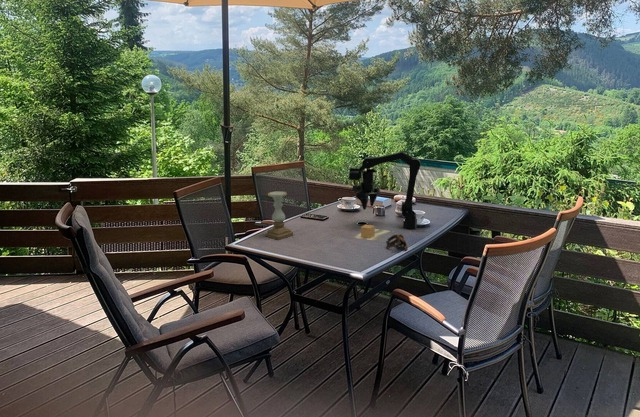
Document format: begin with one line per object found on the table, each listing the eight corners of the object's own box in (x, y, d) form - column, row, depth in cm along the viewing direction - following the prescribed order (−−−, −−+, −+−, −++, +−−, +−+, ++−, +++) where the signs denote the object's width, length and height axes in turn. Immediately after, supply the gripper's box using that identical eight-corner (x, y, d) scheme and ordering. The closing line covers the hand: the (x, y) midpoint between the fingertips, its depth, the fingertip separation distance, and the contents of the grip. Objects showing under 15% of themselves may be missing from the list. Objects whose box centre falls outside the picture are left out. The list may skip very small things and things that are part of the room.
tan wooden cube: (374, 235, 255) (374, 225, 254) (370, 238, 251) (370, 228, 249) (365, 234, 258) (365, 224, 257) (361, 237, 253) (360, 227, 252)
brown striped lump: (407, 254, 230) (398, 240, 228) (390, 259, 235) (381, 246, 233) (412, 240, 240) (403, 227, 238) (395, 246, 245) (387, 233, 243)
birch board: (390, 232, 264) (390, 230, 263) (375, 242, 247) (375, 240, 247) (369, 229, 270) (369, 228, 270) (352, 239, 254) (352, 237, 253)
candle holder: (280, 232, 271) (278, 190, 265) (293, 235, 263) (291, 192, 258) (265, 236, 263) (262, 193, 258) (278, 240, 256) (275, 196, 250)
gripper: (362, 176, 278) (362, 203, 282) (347, 182, 262) (347, 210, 266) (380, 177, 272) (380, 204, 276) (365, 183, 257) (365, 212, 260)
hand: (368, 207), depth 270 cm, fingers open, 9 cm apart
